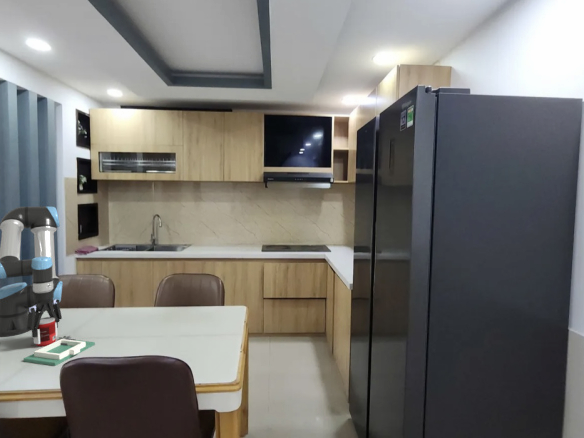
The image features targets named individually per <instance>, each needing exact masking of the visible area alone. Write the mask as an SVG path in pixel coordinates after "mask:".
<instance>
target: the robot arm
mask: <svg viewBox="0 0 584 438" xmlns="http://www.w3.org/2000/svg"><path fill="white" fill-rule="evenodd" d="M59 220H60V219H59V213H58V211H57V208H56V207H55V206H46V205H45V206H19V207H15V208H14V209H11V210H9V212H7V213H6V214H5V215H4V216H3V217H2V218H1V221H0V230H1V236H0V237H1V239H0V280H1V279H9V278H11V279H12V278H17V277H18V278H19V277H29V276H32V280H31V284H27V282H25V281H24V282H16V283H12V284H8V285H4V286H2V287H0V337H3V338H4V337H10V336H11V337H12V336H17V335H21V334H24V333H27V332H30V331H31V336H32V338H33V345H34V344H35V345H36V344H40V329H38V326H39V323H40V320H41V318H43V317H42V316H43V315H44V313H45V312H47V315H48V316H49V317H53V318H55V327H56V337H58V328H59V324H58V323H60V320H62V319H63V318H62V317H63V315H62V312H61V307H60V302H61V301H62V293H63V284H64V283H63V281H62V280H60V277H58V276H57V275H56V260H55V259H56V258H55V237H54V233H55V232H57V229H58V228H59V227H60V221H59ZM24 229H30V232H31V233H32V234H34V235H33V237H34V238H33V239H34V258H32V259H31V258H29V259H21V244H22V242H21V241H22V232H23V230H24Z"/></svg>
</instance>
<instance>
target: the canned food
mask: <svg viewBox="0 0 584 438" xmlns="http://www.w3.org/2000/svg"><path fill="white" fill-rule="evenodd" d="M38 329H40V344H35V346H36V347H41V348H43V347H45V346H47V345H50V344H52V343H54V342H56V341H57V336H56V327H55V318H53V317H50V316H49V317H48V316H47V317H41V320H40V323H39V326H38Z"/></svg>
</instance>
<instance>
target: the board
mask: <svg viewBox="0 0 584 438" xmlns="http://www.w3.org/2000/svg"><path fill="white" fill-rule="evenodd" d="M93 346H96V344H95V341H89V340H86V341H85V340H80V339H76V338H75V339H74V338H68V337H67V338H66V337H65V338H63V339H62V338H60V339H59V340H56V341H55V342H54V343H52V344H50V345H47V346H44V347H41V348H39V349H37V350H35V351H33V353H32V354H30V355H28V356H26V357H24V358H23V362H25V363H32V364H38V365H39V364H40V365H46V366H47V365H48V366H53V367H55V366H58V365H60V364H61V363H63V362H65V361H68V360H70V359H71V358H72V357H74V356H76V355H79V354H80V353H83V352H84V351H86V350H88V349H89V348H91V347H93Z"/></svg>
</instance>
